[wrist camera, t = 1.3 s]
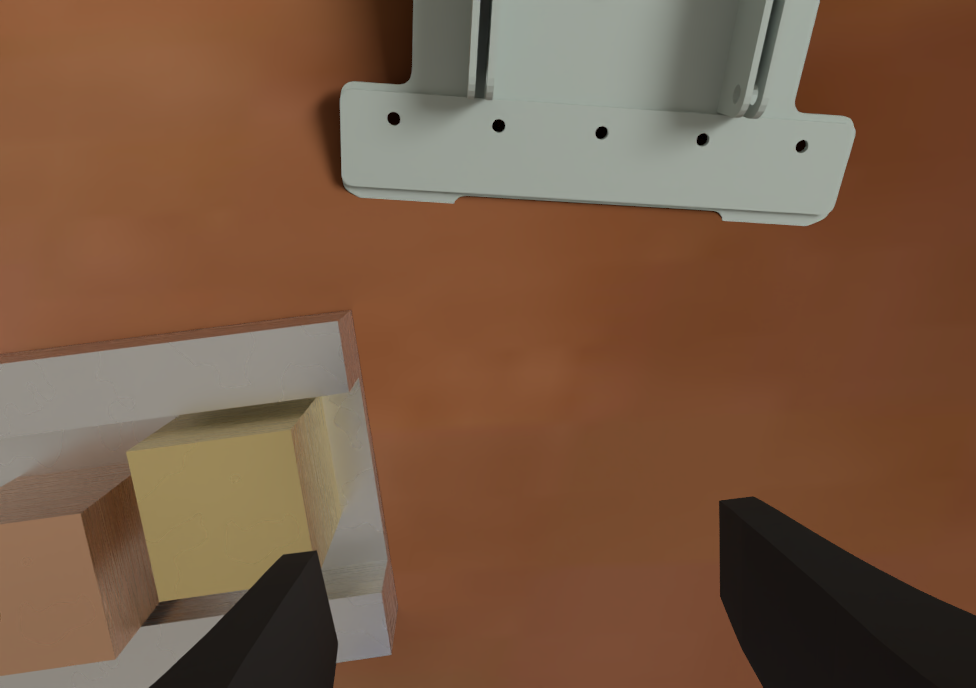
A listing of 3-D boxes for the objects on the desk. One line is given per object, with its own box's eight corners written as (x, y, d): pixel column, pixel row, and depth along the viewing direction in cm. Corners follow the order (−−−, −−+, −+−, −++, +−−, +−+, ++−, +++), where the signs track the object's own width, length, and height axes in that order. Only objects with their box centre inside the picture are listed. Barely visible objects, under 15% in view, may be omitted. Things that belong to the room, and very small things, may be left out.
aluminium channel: (397, 606, 22) (391, 654, 20) (31, 659, 22) (-24, 715, 19) (351, 309, 21) (337, 321, 18) (-47, 360, 20) (-118, 378, 18)
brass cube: (341, 515, 21) (317, 579, 17) (213, 532, 21) (159, 602, 17) (320, 392, 21) (290, 429, 17) (188, 409, 20) (125, 451, 16)
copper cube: (177, 580, 21) (115, 659, 17) (48, 598, 21) (-44, 682, 17) (151, 459, 21) (80, 513, 17) (17, 477, 20) (-86, 536, 16)
